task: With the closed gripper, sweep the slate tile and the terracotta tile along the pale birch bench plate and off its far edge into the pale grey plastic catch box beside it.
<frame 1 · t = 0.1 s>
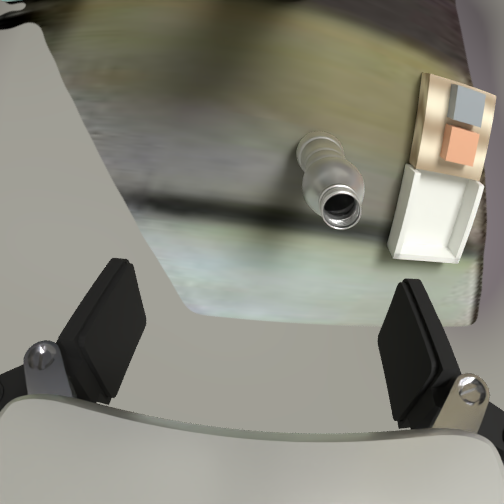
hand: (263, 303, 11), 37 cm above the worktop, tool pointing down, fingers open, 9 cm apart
plastic bottle: (318, 149, 44), on the worktop
terracotta tile: (456, 143, 37), point 3 cm above the worktop, touching bench plate
bench plate: (450, 125, 38), on the worktop
catch box: (431, 210, 46), on the worktop
slate tile: (463, 104, 34), point 3 cm above the worktop, touching bench plate
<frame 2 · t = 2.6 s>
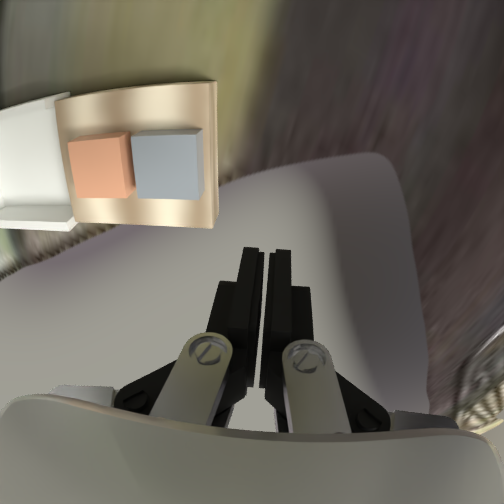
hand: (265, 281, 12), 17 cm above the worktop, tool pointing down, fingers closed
terracotta tile: (107, 161, 24), point 3 cm above the worktop, touching bench plate
bench plate: (141, 150, 27), on the worktop
catch box: (29, 159, 28), on the worktop
slate tile: (172, 159, 24), point 3 cm above the worktop, touching bench plate
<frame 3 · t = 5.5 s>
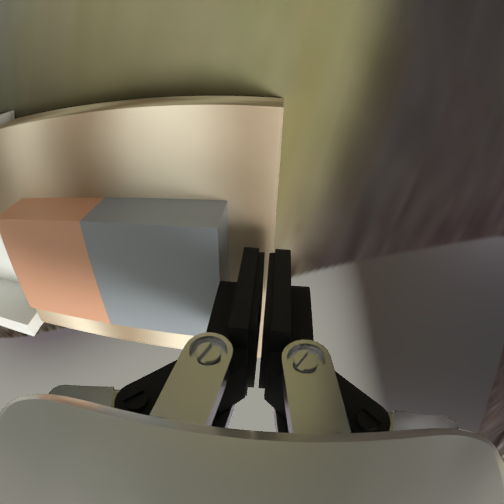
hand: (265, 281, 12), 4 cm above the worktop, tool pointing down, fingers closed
terracotta tile: (71, 246, 13), point 3 cm above the worktop, touching bench plate
bench plate: (135, 217, 16), on the worktop
slate tile: (168, 254, 13), point 3 cm above the worktop, touching bench plate, gripper
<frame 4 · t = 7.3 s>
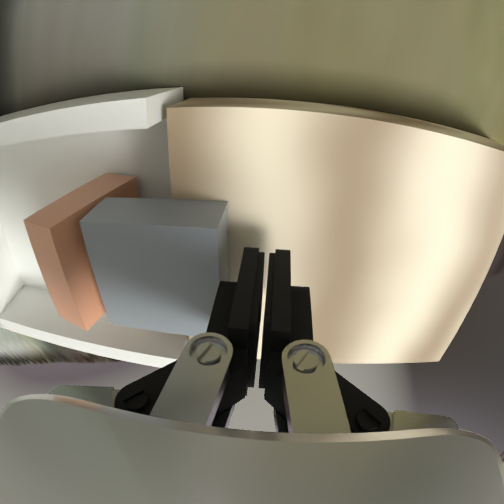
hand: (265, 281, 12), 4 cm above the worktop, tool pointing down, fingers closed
terracotta tile: (108, 252, 13), point 3 cm above the worktop, tilted 106°, touching catch box
bench plate: (340, 233, 15), on the worktop
catch box: (69, 217, 16), on the worktop
slate tile: (168, 254, 13), point 3 cm above the worktop, touching bench plate, gripper
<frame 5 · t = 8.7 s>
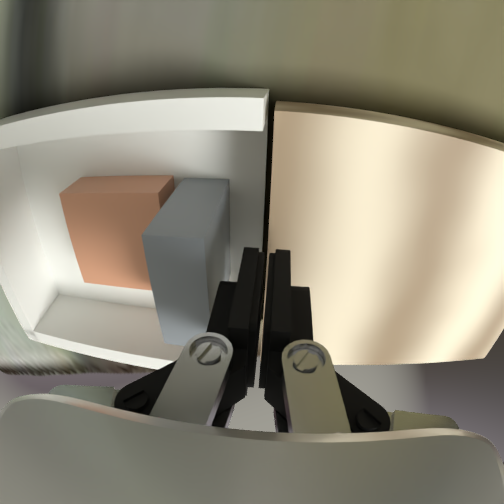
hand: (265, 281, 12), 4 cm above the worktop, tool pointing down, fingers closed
terracotta tile: (114, 244, 14), point 2 cm above the worktop, tilted 180°, touching catch box
bench plate: (408, 240, 15), on the worktop
catch box: (123, 221, 16), on the worktop
slate tile: (220, 260, 13), point 3 cm above the worktop, tilted 90°, touching catch box
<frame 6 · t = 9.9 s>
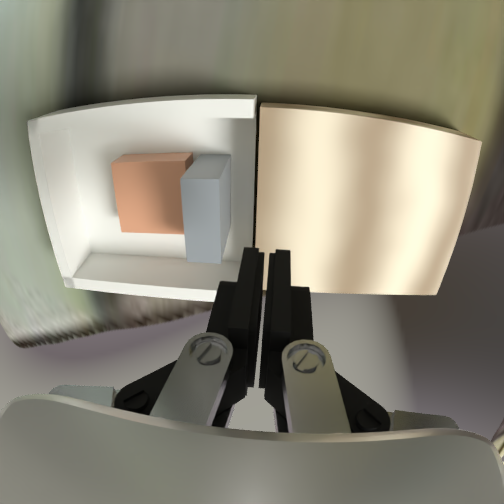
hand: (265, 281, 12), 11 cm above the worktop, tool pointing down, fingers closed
terracotta tile: (149, 198, 20), point 2 cm above the worktop, tilted 180°, touching catch box
bench plate: (359, 197, 21), on the worktop
catch box: (152, 188, 22), on the worktop
slate tile: (226, 205, 19), point 3 cm above the worktop, tilted 90°, touching catch box
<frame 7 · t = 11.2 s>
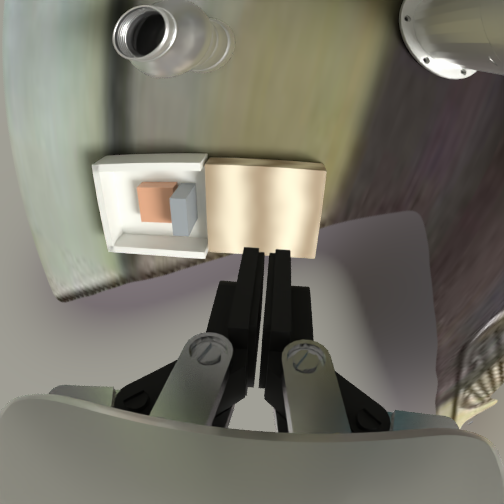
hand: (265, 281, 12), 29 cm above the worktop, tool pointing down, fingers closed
plastic bottle: (209, 46, 31), on the worktop
terracotta tile: (156, 205, 40), point 2 cm above the worktop, tilted 180°, touching catch box
bench plate: (264, 203, 42), on the worktop
catch box: (157, 199, 42), on the worktop
slate tile: (192, 209, 40), point 3 cm above the worktop, tilted 90°, touching catch box
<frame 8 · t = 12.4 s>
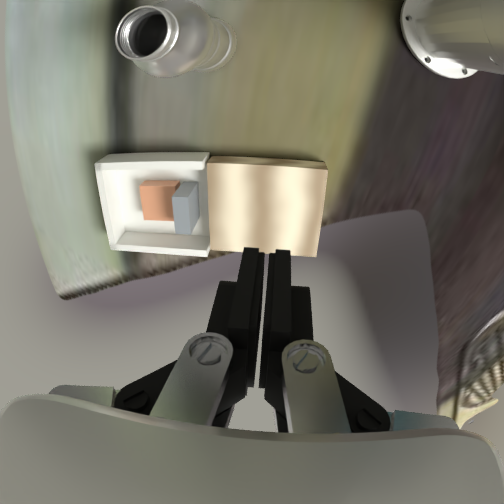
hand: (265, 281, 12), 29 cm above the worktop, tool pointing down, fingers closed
plastic bottle: (211, 46, 31), on the worktop
terracotta tile: (158, 203, 41), point 2 cm above the worktop, tilted 180°, touching catch box
bench plate: (266, 202, 42), on the worktop
catch box: (160, 197, 43), on the worktop
slate tile: (194, 207, 40), point 3 cm above the worktop, tilted 90°, touching catch box
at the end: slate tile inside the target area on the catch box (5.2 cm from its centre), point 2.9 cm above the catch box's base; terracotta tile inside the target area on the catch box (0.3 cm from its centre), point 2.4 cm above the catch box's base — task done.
